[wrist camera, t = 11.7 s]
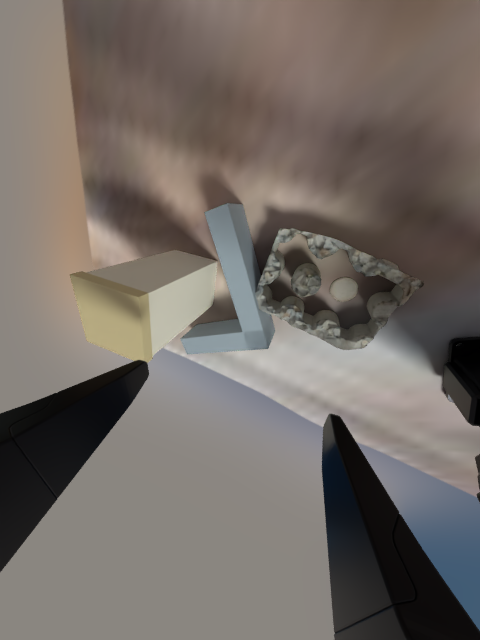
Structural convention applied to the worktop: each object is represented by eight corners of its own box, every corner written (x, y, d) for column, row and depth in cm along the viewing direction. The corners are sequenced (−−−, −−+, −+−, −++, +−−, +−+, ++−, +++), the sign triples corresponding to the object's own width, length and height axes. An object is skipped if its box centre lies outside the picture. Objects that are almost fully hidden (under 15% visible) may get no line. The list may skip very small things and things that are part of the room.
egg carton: (413, 268, 16) (438, 283, 13) (355, 339, 20) (362, 365, 17) (288, 216, 18) (280, 218, 14) (256, 293, 22) (244, 308, 18)
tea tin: (218, 260, 21) (138, 297, 12) (213, 305, 24) (144, 365, 15) (174, 248, 22) (69, 274, 13) (174, 293, 25) (86, 341, 16)
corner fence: (242, 204, 18) (227, 203, 15) (275, 330, 23) (268, 348, 20) (161, 236, 22) (136, 240, 19) (202, 338, 27) (187, 354, 24)
